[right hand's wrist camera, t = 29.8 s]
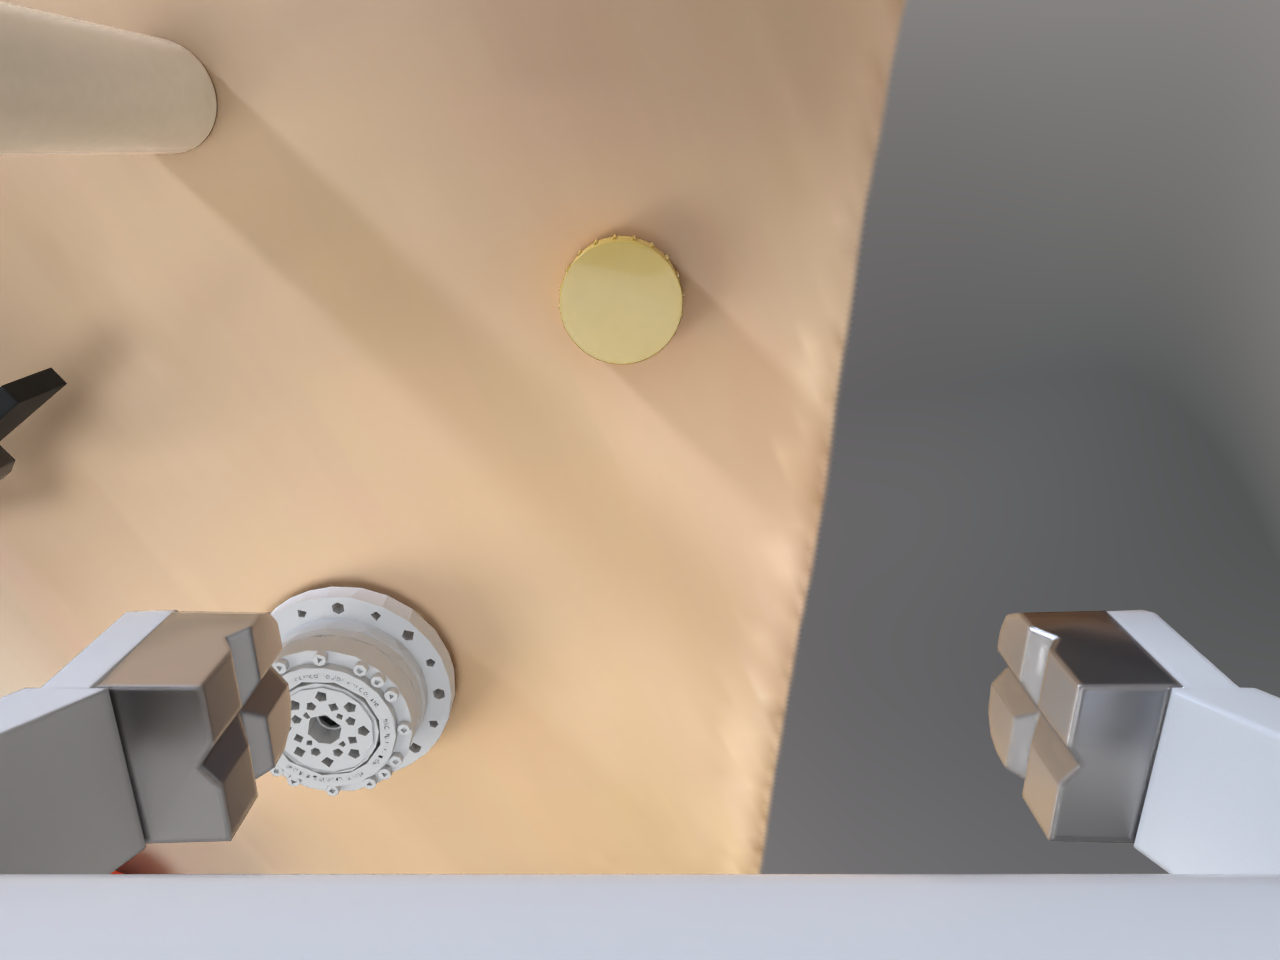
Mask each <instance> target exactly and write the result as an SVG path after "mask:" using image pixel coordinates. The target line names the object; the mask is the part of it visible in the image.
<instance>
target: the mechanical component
mask: <svg viewBox="0 0 1280 960" xmlns="http://www.w3.org/2000/svg"><path fill="white" fill-rule="evenodd" d="M271 615H272V616H273V618H274V619H275V620H276V621H277V622H278V627H279V632H280V637H281V642H282V647H283V649H282V651H281V652H280V654H279V655H278V657H277V658H276V660H275V662H274V663H273V665H272V667H273V668H274V669H275V670H276V671H277V672H278V673H279V674H280V675H281V676H282V677H283V678H284V679H285V680H286V681H287V683H288V684H289V691H290V698H291V726H290V730H289V734H288V738H287V742H286V746H285V750H284V752H283V753H282V755H281V757H280V759H279V761H278V762H277V764H276V766H275V768H273V769H272V770H270V772H271V773H272V774H273V775H274V776H280V775H283V776H285V777H286V778H288V779H287V781H288V784H289V785H291V786H294V787H295V786H298V785H299V784H301V785H304V786H306V787H309V788H314V789H319V790H326V792H327V793H328V795H332V796H335V795H337V794H338V793H339V791H340V790H357V789H360V788H363V787H366V788H367V789H372V788H374V787H375V786H376V784H377V783H378V782H380V781H381V780H383V779H389V777H390V776H391V775H392V772H394V771H396V770H398V769H401V768H403V767H405V766H408V765H410V764H411V763H413V762H414V761H416V760H417V759H419V758H420V757H421V756H423V755H424V754H426V753H427V752H428V750H429V749H430V748H431V747H432V746H433V745H434V743H435V742H436V741H437V740H438V739H439V737H440V735H441V733H442V731H443V729H444V727H445V725H446V723H447V720H448V718H449V715H450V711H451V708H452V704H453V701H454V697H455V676H454V667H453V664H452V661H451V658H450V655H449V652H448V650H447V648H446V647H445V645H444V644H443V642H442V640H441V639H440V637H439V635H438V634H437V632H436V630H435V629H434V628H433V627H432V626H430V625H429V624H428V623H427V622H426V621H425V620H424V619H423V618H422V617H421V616H420V615H419V614H418V613H416V612H415V611H414V610H413V609H412V608H410V607H408V606H406V605H404V604H403V603H401V602H399V601H397V600H395V599H393V598H391V597H390V596H388V595H384V594H381V593H377V592H374V591H371V590H367V589H364V588H355V587H327V588H321V589H315V590H310V591H307V592H304V593H302V594H299V595H296V596H294V597H291V598H289V599H288V600H286V601H285V602H283V603H282V604H281V605H279V606H278V607H276V608H275V609H274V610H273V612H272V613H271Z"/></svg>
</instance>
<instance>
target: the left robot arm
mask: <svg viewBox="0 0 1280 960" xmlns="http://www.w3.org/2000/svg"><path fill="white" fill-rule="evenodd" d="M66 384H67V383H66V382H65V381H64V380H63V379H62V378H61V377H60V376H59V375H58V374H57V373H56V372H55V371H54V370H53V369H52V368H49V369H46V370H43V371H41V372H38V373H35V374H32V375H30V376H27V377H24V378H22V379H19V380H16V381H13V382H11V383H8V384H5V385H3V386H1V387H0V441H1V440H2V439H3V438H4V437H5V436H7V435H8V434H9V433H10V432H11V431H12V430H14V429H15V428H16V427H17V426H18V425H19V424H20V423H22V422H23V421H24V420H25V419H26V418H27V417H29V416H30V415H31V414H32V413H33V412H34V411H36V410H37V409H38V408H39V407H40V406H41V405H43V404H44V403H45V402H46V401H47V400H48V399H49V398H51V397H52V396H53V395H54V394H55V393H56V392H58V391H59V390H60V389H61V388H62V387H63V386H65V385H66ZM14 462H15V459H14V458H13V457H12V456H11V455H10V454H9V453H8V452H7V451H5V450H4V449H3V448H2V447H1V446H0V480H1V479H3V478H4V477H5V476H6V475H7V474H8V473H10V472H11V470H12V467H13V465H14Z"/></svg>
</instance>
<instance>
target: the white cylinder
mask: <svg viewBox="0 0 1280 960" xmlns="http://www.w3.org/2000/svg"><path fill="white" fill-rule="evenodd" d="M216 110H217V102H216V94H215V90H214V87H213V84H212V81H211V79H210V77H209V75H208V73H207V71H206V69H205V68H204V67H203V65H202V64H201V62H200V61H199V60H198V59H197V58H196V57H195V56H194V55H193V54H192V53H191V52H190V51H188V50H187V49H185V48H184V47H183V46H181V45H179V44H177V43H175V42H172V41H170V40H167V39H163V38H159V37H154V36H150V35H146V34H141V33H137V32H133V31H128V30H124V29H120V28H115V27H111V26H107V25H102V24H98V23H94V22H89V21H85V20H81V19H76V18H72V17H68V16H63V15H59V14H55V13H50V12H46V11H42V10H37V9H33V8H29V7H24V6H20V5H16V4H11V3H7V2H3V1H0V156H32V155H124V154H179V153H184V152H187V151H190V150H192V149H194V148H196V147H197V146H198V145H200V144H201V143H202V142H203V141H204V140H205V139H206V138H207V136H208V135H209V133H210V132H211V130H212V128H213V125H214V122H215V118H216Z"/></svg>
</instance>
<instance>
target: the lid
mask: <svg viewBox="0 0 1280 960" xmlns="http://www.w3.org/2000/svg"><path fill="white" fill-rule="evenodd" d="M566 272H567V273H566V275H565V277H564V280H563V283H562V284H561V286H560V288H559V290H560V300H559V304H560V306H559V310H560V313H561V318H562V321H563V324H564V327H565V329H566V331H567V333H568V334H569V336H570V337H571V339H572V340H573V341H574V343H575V344H576V345H577V346H578V347H579V348H580V349H581V350H583V351H584V352H585V353H587V354H588V355H590V356H591V357H593V358H595V359H597V360H600V361H603V362H606V363H611V364H632V363H637V362H640V361H643V360H646V359H648V358H650V357H652V356H653V355H655V354H657V353H658V352H659V351H660V350H662V349H663V348H664V347H665V346H666V345H667V344H668V343H669V341H670V340H671V339H672V337H673V336H674V334H676V330H677V328H678V326H679V323H680V320H681V316H683V311H682V310H683V297H684V292H683V289H681V286H680V282H679V279H678V278H679V277H680V276H679V273H678V270H677V271H675V268H674V267H673V265H672V263H671V262H670V260H669V256H668V255H667V254H666V255H665V254H664V253H663V252H662V251H661V250H659V249H658V248H657V247H655V246H654V243H653V242H651V243H649V242H647V241H645V240H642V239H639V238H636V235H633V237H631V236H616V234H614V235H613V237H608V238H604V239H601V240H599V241H598V239H596V240H595V241H594V243H593V244H591V245H590V246H588V247H587V248H585V249H584V250H583V251H582V250H580V251H579V253H578V254H577V257H576V259H575V260H574V261H573V263H572V264H571V266H570V265H569V266H568V267H567V269H566Z"/></svg>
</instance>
